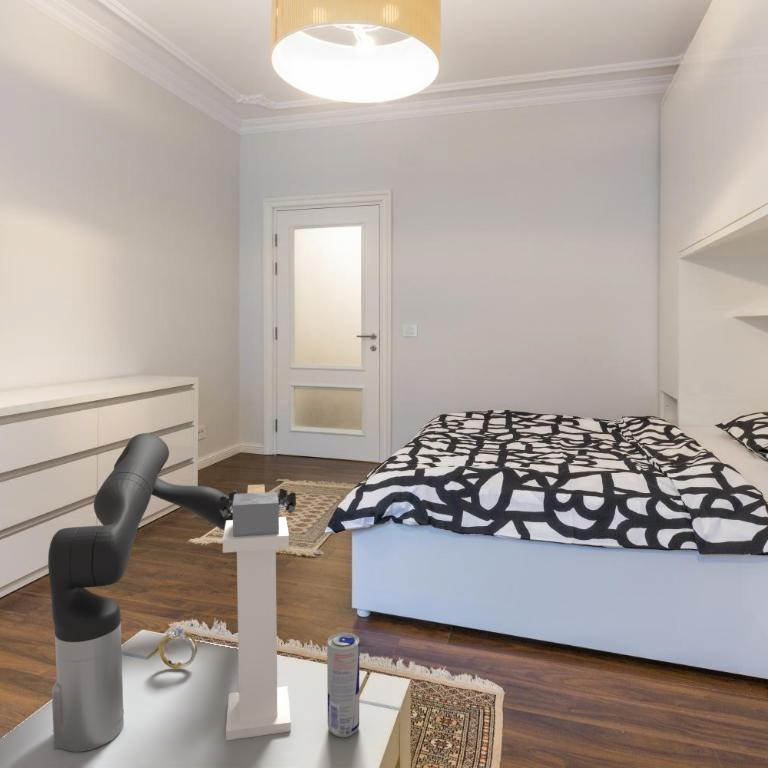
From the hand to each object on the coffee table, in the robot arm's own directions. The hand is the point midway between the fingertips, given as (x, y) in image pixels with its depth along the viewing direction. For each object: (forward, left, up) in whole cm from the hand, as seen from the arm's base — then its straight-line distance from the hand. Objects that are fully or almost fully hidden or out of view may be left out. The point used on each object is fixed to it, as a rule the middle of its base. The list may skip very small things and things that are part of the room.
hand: (258, 494), depth 105 cm
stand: (0, -12, -34) cm, 37 cm away
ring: (-15, +5, -35) cm, 38 cm away
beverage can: (+13, -18, -35) cm, 41 cm away
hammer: (0, -7, -2) cm, 7 cm away
